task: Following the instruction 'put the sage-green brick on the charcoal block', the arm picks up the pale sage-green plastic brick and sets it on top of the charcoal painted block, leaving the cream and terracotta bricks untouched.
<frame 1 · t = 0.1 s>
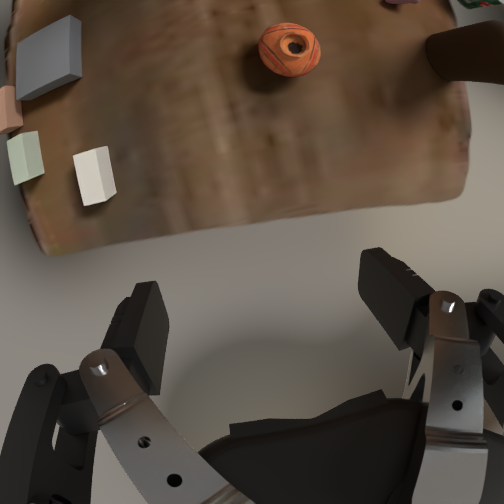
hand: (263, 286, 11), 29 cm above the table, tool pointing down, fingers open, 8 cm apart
sage brick: (33, 155, 31), on the table
terracotta brick: (14, 109, 27), on the table
cream brick: (101, 172, 34), on the table
charcoal block: (53, 60, 25), on the table
brown bottle: (443, 57, 31), on the table
pot: (283, 54, 31), on the table
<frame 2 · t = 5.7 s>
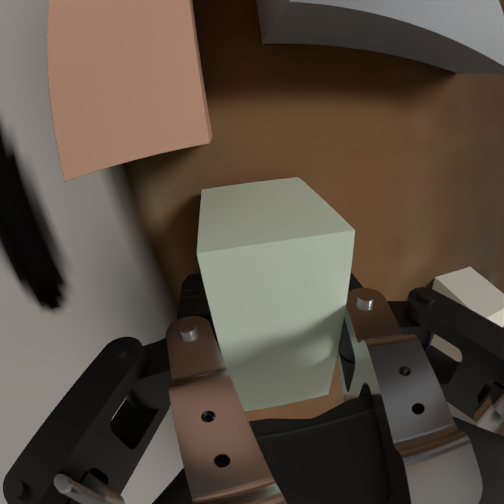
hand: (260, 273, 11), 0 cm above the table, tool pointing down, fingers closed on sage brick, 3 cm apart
sage brick: (259, 265, 12), on the table, touching gripper
terracotta brick: (152, 59, 8), on the table
cream brick: (439, 315, 15), on the table
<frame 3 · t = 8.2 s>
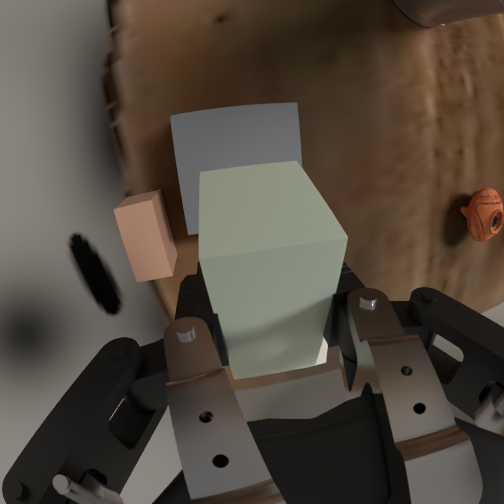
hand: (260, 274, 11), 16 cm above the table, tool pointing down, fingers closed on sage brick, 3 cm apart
sage brick: (254, 240, 12), point 15 cm above the table, tilted 17°, touching gripper
terracotta brick: (152, 226, 27), on the table
charcoal block: (236, 162, 25), on the table
pot: (469, 207, 31), on the table
when the fingers open (6 cm above the table, at t = 11.3 s): sage brick drops 1 cm, resting on charcoal block.
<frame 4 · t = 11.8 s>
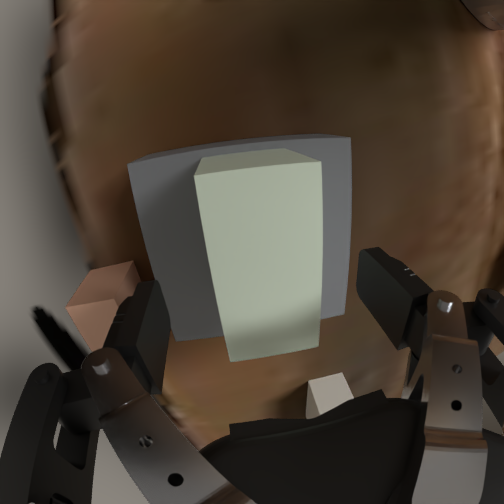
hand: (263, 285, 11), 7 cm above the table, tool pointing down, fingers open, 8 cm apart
sage brick: (251, 228, 13), point 4 cm above the table, touching charcoal block
terracotta brick: (129, 306, 19), on the table
cream brick: (322, 395, 26), on the table
charcoal block: (244, 222, 17), on the table
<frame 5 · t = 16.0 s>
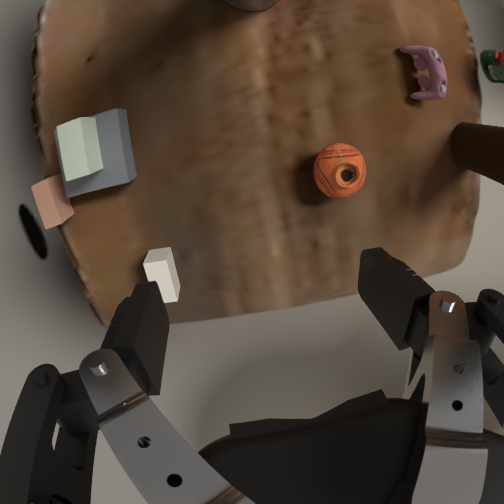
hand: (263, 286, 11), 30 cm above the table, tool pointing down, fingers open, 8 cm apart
sage brick: (87, 146, 30), point 4 cm above the table, touching charcoal block
terracotta brick: (59, 196, 35), on the table
cream brick: (165, 268, 43), on the table
charcoal block: (99, 151, 34), on the table
canned tomato: (488, 66, 32), on the table
brown bottle: (464, 145, 39), on the table
pot: (330, 166, 39), on the table
video game controller: (414, 73, 33), on the table
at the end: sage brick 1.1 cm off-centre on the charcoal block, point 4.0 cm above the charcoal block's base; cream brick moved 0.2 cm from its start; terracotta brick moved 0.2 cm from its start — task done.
